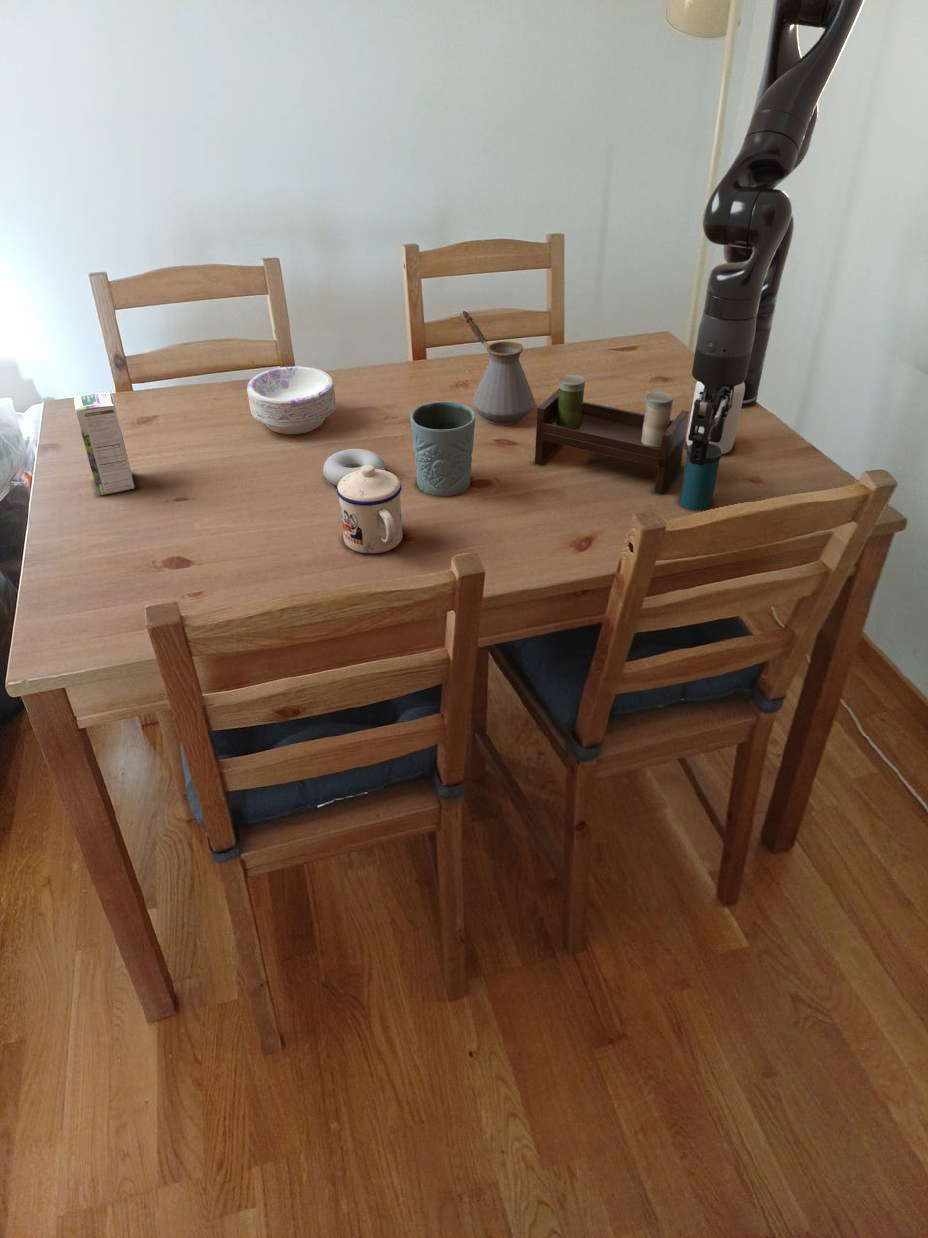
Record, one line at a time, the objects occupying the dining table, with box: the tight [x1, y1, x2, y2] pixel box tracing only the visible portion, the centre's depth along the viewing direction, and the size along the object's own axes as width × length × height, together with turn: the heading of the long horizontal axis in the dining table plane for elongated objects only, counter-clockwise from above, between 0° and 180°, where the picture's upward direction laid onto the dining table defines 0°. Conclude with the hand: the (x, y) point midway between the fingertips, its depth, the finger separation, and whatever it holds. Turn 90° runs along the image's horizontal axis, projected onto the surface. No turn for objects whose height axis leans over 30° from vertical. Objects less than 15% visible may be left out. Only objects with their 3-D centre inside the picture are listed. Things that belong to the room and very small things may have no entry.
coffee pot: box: [457, 310, 536, 426], centre depth 161 cm, size 21×12×15 cm, turn 28°
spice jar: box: [679, 444, 723, 511], centre depth 134 cm, size 5×5×9 cm
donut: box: [322, 448, 386, 487], centre depth 143 cm, size 10×4×10 cm
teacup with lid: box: [336, 465, 403, 555], centre depth 124 cm, size 12×9×12 cm
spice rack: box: [534, 374, 690, 495], centre depth 142 cm, size 10×22×14 cm, turn 62°
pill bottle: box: [685, 380, 745, 455], centre depth 147 cm, size 8×8×15 cm
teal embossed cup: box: [409, 400, 476, 497], centre depth 138 cm, size 10×10×12 cm
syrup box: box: [73, 392, 136, 496], centre depth 138 cm, size 6×6×14 cm
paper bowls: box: [246, 365, 337, 435], centre depth 158 cm, size 15×15×8 cm
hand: (705, 451), depth 131 cm, fingers open, 8 cm apart
